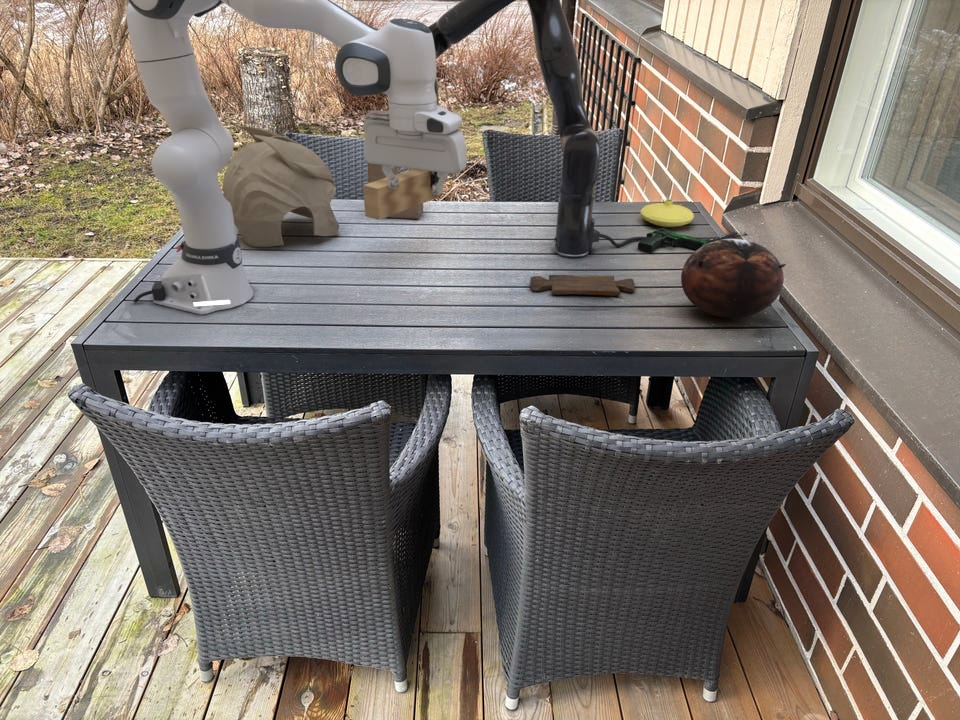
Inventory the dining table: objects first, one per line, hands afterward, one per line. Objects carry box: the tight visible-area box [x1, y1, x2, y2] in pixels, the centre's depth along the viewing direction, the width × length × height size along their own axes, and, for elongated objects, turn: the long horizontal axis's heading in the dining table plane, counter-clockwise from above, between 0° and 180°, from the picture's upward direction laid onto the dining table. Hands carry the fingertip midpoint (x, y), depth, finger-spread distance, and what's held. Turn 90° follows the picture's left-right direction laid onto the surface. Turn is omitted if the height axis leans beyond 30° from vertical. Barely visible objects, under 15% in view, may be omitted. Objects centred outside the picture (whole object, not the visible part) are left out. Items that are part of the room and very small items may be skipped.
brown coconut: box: [680, 238, 787, 319], centre depth 162 cm, size 22×18×20 cm
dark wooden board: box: [529, 274, 635, 297], centre depth 175 cm, size 26×2×10 cm
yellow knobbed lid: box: [640, 198, 695, 228], centre depth 215 cm, size 16×16×7 cm
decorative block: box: [364, 109, 424, 220], centre depth 212 cm, size 8×15×30 cm, turn 82°
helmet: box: [222, 125, 340, 248], centre depth 196 cm, size 27×30×30 cm
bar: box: [362, 168, 442, 221], centre depth 183 cm, size 24×5×8 cm, turn 143°
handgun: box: [637, 227, 709, 254], centre depth 199 cm, size 16×3×15 cm
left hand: (415, 190), depth 139 cm, fingers open, 8 cm apart
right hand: (426, 185), depth 190 cm, fingers closed on bar, 4 cm apart
